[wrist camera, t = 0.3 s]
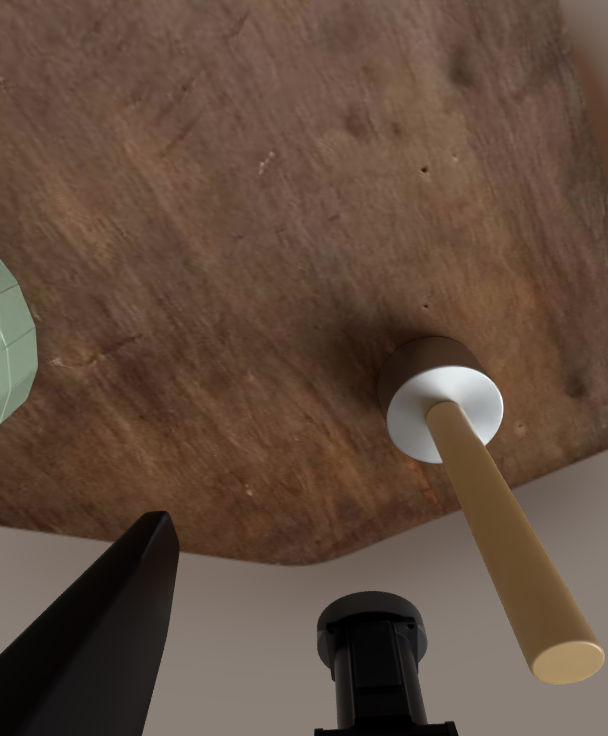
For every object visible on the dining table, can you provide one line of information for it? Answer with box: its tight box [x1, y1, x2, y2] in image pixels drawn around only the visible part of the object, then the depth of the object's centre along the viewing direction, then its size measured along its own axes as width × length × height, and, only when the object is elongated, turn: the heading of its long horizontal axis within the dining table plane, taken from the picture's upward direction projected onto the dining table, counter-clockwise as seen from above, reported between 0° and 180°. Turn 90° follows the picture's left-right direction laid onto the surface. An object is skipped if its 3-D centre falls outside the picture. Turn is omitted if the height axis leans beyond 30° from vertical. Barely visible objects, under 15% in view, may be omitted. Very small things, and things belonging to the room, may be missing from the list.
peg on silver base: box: [377, 337, 605, 684], centre depth 16 cm, size 5×5×13 cm
